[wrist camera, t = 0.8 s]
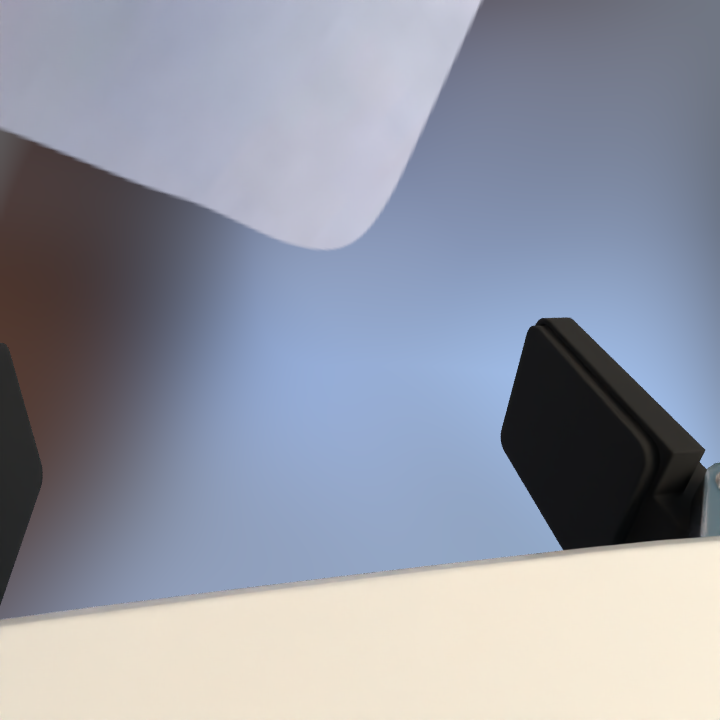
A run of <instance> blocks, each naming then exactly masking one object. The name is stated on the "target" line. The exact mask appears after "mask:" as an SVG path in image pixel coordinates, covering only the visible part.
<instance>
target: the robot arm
mask: <svg viewBox="0 0 720 720" xmlns="http://www.w3.org/2000/svg"><path fill="white" fill-rule="evenodd" d="M501 444H502V447H503V449H504V451H505V453H506V455H507V456H508V458H509V460H510V462H511V463H512V465H513V467H514V468H515V470H516V471H517V473H518V475H519V477H520V478H521V480H522V482H523V483H524V485H525V487H526V488H527V490H528V491H529V493H530V495H531V497H532V498H533V500H534V502H535V504H536V505H537V507H538V509H539V510H540V512H541V514H542V515H543V517H544V519H545V520H546V522H547V524H548V525H549V527H550V529H551V530H552V532H553V534H554V535H555V537H556V539H557V541H558V542H559V544H560V545H561V547H562V549H563V551H554V552H545V553H536V554H528V555H519V556H510V557H501V558H492V559H483V560H474V561H466V562H457V563H448V564H440V565H431V566H424V567H415V568H407V569H398V570H389V571H381V572H372V573H364V574H355V575H347V576H339V577H331V578H322V579H314V580H306V581H297V582H289V583H281V584H273V585H264V586H256V587H248V588H240V589H233V590H225V591H216V592H208V593H201V594H192V595H184V596H176V597H168V598H160V599H152V600H144V601H136V602H128V603H120V604H112V605H104V606H96V607H88V608H81V609H73V610H66V611H59V612H52V613H44V614H36V615H30V616H22V617H15V618H8V619H0V720H720V463H715V464H714V465H712V466H711V467H709V468H708V469H706V468H705V467H704V466H703V465H702V464H701V463H700V460H701V458H702V456H703V454H704V452H705V449H704V448H703V447H702V446H701V445H700V444H699V443H698V442H697V441H696V440H695V439H694V438H693V437H692V436H691V435H689V433H688V432H687V431H686V430H685V429H684V428H682V426H680V424H678V423H677V422H676V421H675V420H674V419H673V418H672V417H671V416H670V415H669V414H668V413H667V412H666V411H665V410H664V409H663V408H662V407H661V406H660V405H659V404H658V403H657V402H656V401H655V400H654V399H653V398H652V397H651V396H650V395H649V394H648V393H647V392H646V391H645V390H644V389H643V388H642V387H641V386H640V385H639V384H638V383H637V382H636V381H635V380H634V379H633V378H632V377H631V376H630V375H629V374H628V373H627V372H626V371H625V370H624V369H623V368H622V367H621V366H620V365H618V363H617V362H616V361H614V360H613V359H612V358H611V357H610V356H609V355H608V354H607V353H606V352H605V351H604V350H603V349H602V348H601V347H600V346H599V345H598V344H597V343H596V342H595V341H594V340H593V339H592V338H591V337H590V336H589V335H588V334H587V333H586V332H585V331H584V330H583V329H582V328H581V327H580V326H579V325H578V324H577V323H576V322H575V321H574V320H573V319H571V318H542V319H540V320H539V321H538V322H537V323H536V325H535V326H531V327H530V328H529V330H528V332H527V335H526V339H525V343H524V347H523V350H522V354H521V358H520V362H519V366H518V369H517V373H516V377H515V381H514V384H513V388H512V392H511V396H510V400H509V403H508V407H507V411H506V415H505V419H504V422H503V426H502V430H501ZM41 484H42V465H41V461H40V458H39V454H38V451H37V447H36V443H35V440H34V436H33V433H32V429H31V426H30V422H29V419H28V415H27V412H26V408H25V405H24V401H23V398H22V394H21V390H20V387H19V383H18V380H17V376H16V373H15V369H14V366H13V362H12V359H11V355H10V352H9V349H8V347H7V345H6V344H4V343H0V604H1V601H2V599H3V596H4V593H5V590H6V587H7V584H8V581H9V578H10V575H11V572H12V569H13V567H14V563H15V561H16V558H17V555H18V552H19V549H20V546H21V543H22V540H23V537H24V534H25V531H26V529H27V525H28V523H29V520H30V517H31V514H32V511H33V508H34V505H35V502H36V499H37V496H38V493H39V491H40V488H41Z"/></svg>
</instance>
